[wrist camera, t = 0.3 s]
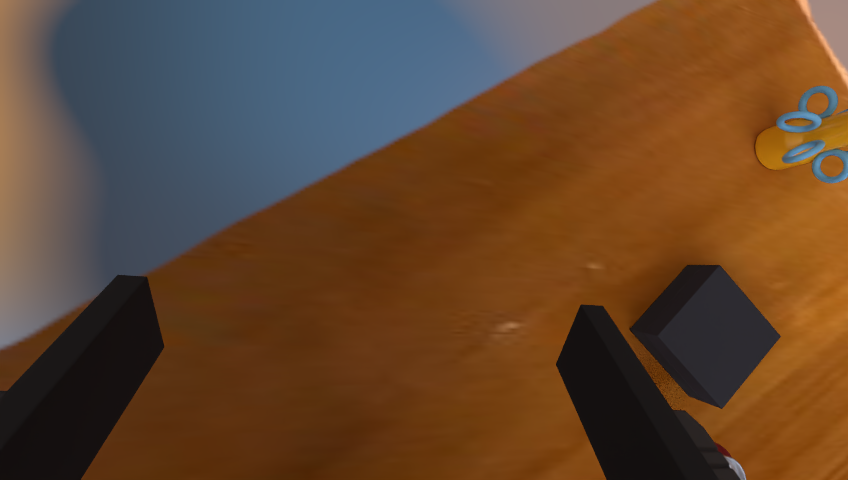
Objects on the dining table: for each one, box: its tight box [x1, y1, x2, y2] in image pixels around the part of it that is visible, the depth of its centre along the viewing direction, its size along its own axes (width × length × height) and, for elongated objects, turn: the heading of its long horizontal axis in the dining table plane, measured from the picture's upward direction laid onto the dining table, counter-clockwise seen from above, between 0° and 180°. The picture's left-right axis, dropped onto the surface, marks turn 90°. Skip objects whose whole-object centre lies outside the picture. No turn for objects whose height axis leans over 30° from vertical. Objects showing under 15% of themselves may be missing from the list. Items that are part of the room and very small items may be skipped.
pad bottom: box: [630, 265, 704, 402], centre depth 53 cm, size 12×12×2 cm
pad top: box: [643, 265, 781, 409], centre depth 51 cm, size 12×12×2 cm
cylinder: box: [755, 86, 848, 183], centre depth 51 cm, size 12×10×15 cm
